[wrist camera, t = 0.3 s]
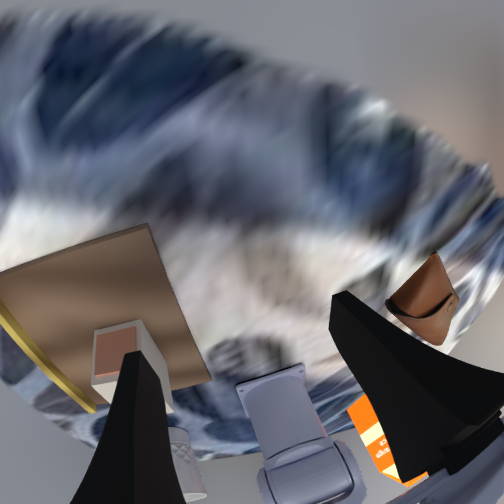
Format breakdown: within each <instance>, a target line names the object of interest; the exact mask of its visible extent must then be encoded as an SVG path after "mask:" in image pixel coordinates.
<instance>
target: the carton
mask: <svg viewBox="0 0 504 504" xmlns="http://www.w3.org/2000/svg"><path fill="white" fill-rule="evenodd" d="M138 350H141V352H142V353H143V355H144V356H145V358H146V359H147V361H148V362H149V364H150V365H151V367H152V368H153V369H154V371H155V372H156V374H157V375H158V377H159V378H160V381H161V386H162V390H163V395H164V400H165V405H166V414H167V413H172V412H174V407H173V401H172V395H171V389H170V382H169V376H168V369H167V362H166V361H165V359H164V357H163V356H162V354H161V353H160V351H159V349H158V348H157V346H156V344H155V343H154V341H153V339H152V338H151V336H150V334H149V332H148V331H147V329H146V327H145V325H144V324H143V322H142V320H141V319H139V320H135V321H131V322H127V323H123V324H119V325H115V326H111V327H107V328H103V329H98V330H95V331H94V342H93V356H92V375H91V386H92V387H93V388H94V389H95V390H96V391H97V392H98V393H99V394H100V395H101V396H102V397H103V398H104V399H106V400H107V401H108V402H109V403H110V404H111V402H112V399H113V395H114V392H115V388H116V384H117V381H118V377H119V373H120V369H121V365H122V361H123V357H124V355H125V353H129V352H134V351H138Z"/></svg>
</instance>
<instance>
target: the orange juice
mask: <svg viewBox="0 0 504 504" xmlns="http://www.w3.org/2000/svg"><path fill="white" fill-rule="evenodd" d="M347 411H348V413H349V415H350V417H351V419H352V420H353V422H354V424H355V426H356V428H357V430H358V432H359V434H360V436H361V438H362V440H363V442H364V444H365V446H366V447H367V449H368V451H369V453H370V455H371V457H372V459H373V461H374V462H375V464H376V466H377V468H378V470H379V472H381V473H383V474H385V475H387V476H388V477H390V478H392V479H394V480H396V481H398V482H400V483H402V482H401V480H400V478H399V477H398V473H397V469H396V466H395V463H394V460H393V457H392V454H391V451H390V448H389V445H388V443H387V440H386V438H385V435H384V433H383V430H382V428H381V426H380V423H379V421H378V419H377V416H376V414H375V412H374V410H373V408H372V406H371V403H370V401H369V400H368V398H367V396H366V394H364V395H363V396H362V397H361V398H360V399H359V400H358V401H356V402H355V403H354V404H353V405H352V406H351V407H350V408H348V409H347ZM427 474H428V473H427V472H425V473H424V474H422V475H420V476H419V477H417V478H415V479H412V480H410V481H408V482H406V483H404V485H406V486H407V487H410V486H411V485H413V484H414V483H416V482H417V481H419V480H420V479H421V478H423V477H424V476H425V475H427Z"/></svg>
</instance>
